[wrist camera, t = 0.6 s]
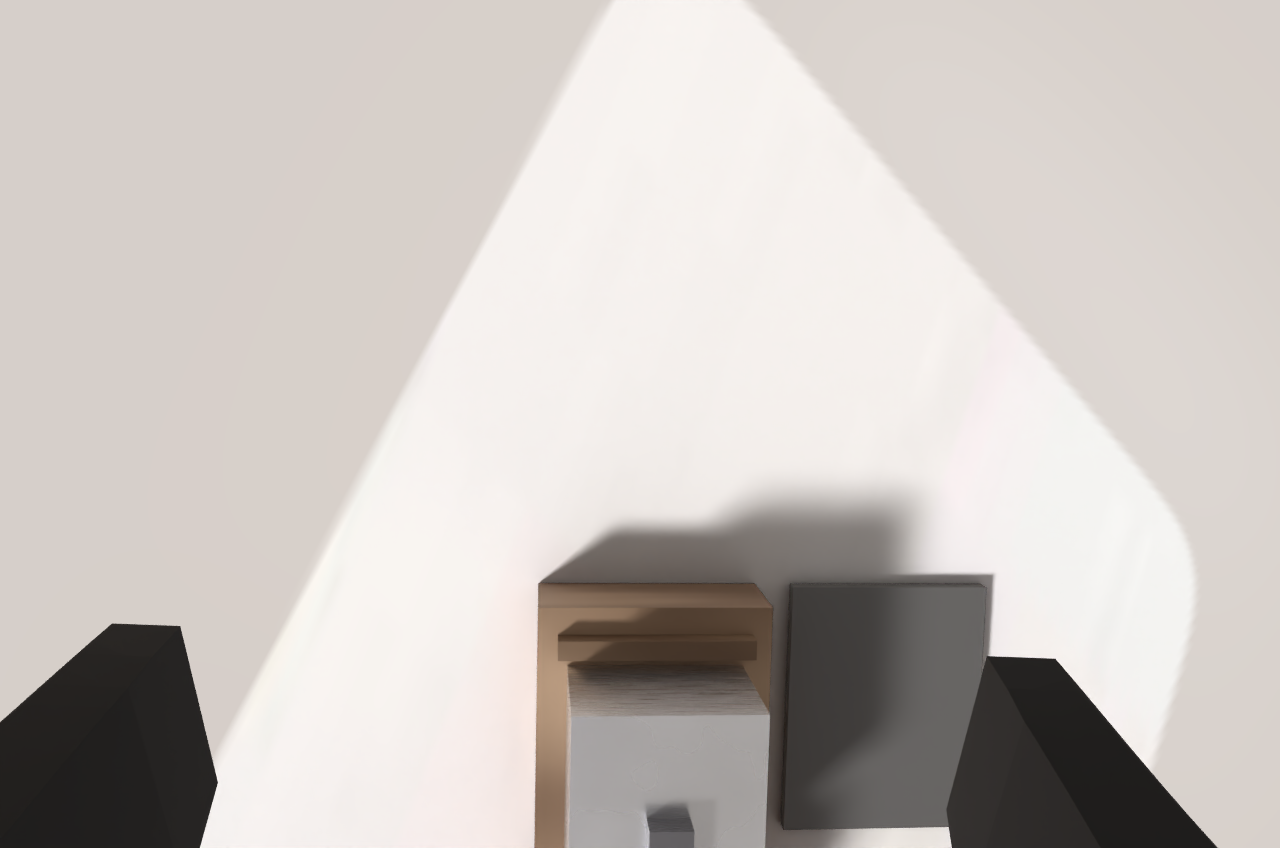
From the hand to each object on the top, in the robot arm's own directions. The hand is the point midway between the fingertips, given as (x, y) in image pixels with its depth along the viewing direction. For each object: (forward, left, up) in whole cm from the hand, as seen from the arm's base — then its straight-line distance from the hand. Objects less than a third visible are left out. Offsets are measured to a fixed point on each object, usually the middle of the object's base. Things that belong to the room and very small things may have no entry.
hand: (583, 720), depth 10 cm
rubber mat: (-7, -9, -21) cm, 24 cm away
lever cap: (-8, -3, -18) cm, 20 cm away
